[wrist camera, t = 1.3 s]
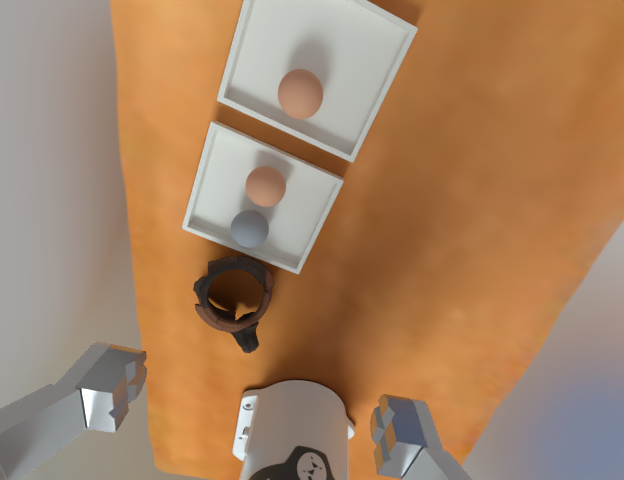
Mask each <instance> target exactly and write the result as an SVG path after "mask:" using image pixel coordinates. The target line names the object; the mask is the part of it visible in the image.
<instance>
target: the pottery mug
mask: <svg viewBox="0 0 624 480" xmlns="http://www.w3.org/2000/svg"><path fill="white" fill-rule="evenodd" d="M234 269H238V270H244V271H247V272H249V273H251V274H252V275H254V276H255V277H256V278H257V279H258V281H259V282H260V283H261V284H263V286H264V293H263V296H262V301H261V304H260V306H259V308H258V309H257V311H256V312H251V313H248V314H244V315H243V316H242V317H240V318H239V319H238V320H236V321H235V314H236V312H235V311H226V310H222V309H219V308H217V307H215V306H214V305H213V304H212V303H210V301H209V297H208V295H209V289H210V286H211V284H212V282H213V281H214V279H215V278H216V277H217V276H218V275H220V274H221V273H223V272H225V271H228V270H234ZM273 285H275V284H274V279H273V276H272V274H271V272H270V270H268V268H267V267H266V266H265V265H263V264H262V263H260V262H258V261H256V260H254V259H251V258H248V257H244V256H238V258H236V257H235V256H230V257H226V258H223V259H220V260H216V261H210V262H208V276H206V277H205V276H203V277H201V278H200V279H199V280H198V281H196V282H195V283H194V288H193V290H194V291H195V292H196V295H197V297H198V299H199V303H200V305H199V304H195V309H196V311H197V313H198V314H199V316H200V317H201V318H202V319H203V320H204V321H205V322H206V323H207V324H208V325H210V326H211V327H213V328H215V329H217V330H220V331H225V332H229V333H231V334H232V335H233V336H234V338H235V339H236V341H237V343H238V344H239V346H240V347H241V348H242V350H243V351H244V352H245V353H251V352H252V351H255V350H256V348H257V347H258V346H259V343H258V340H257V335H256V327H257V325H258V323H259V322H258V321H259V319H260V318H261V317H262V316H263V314H264V313H265V312H266V310H267V308H268V305H269V302H270V300H271V294H272V289H271V288H272V287H273Z"/></svg>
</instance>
